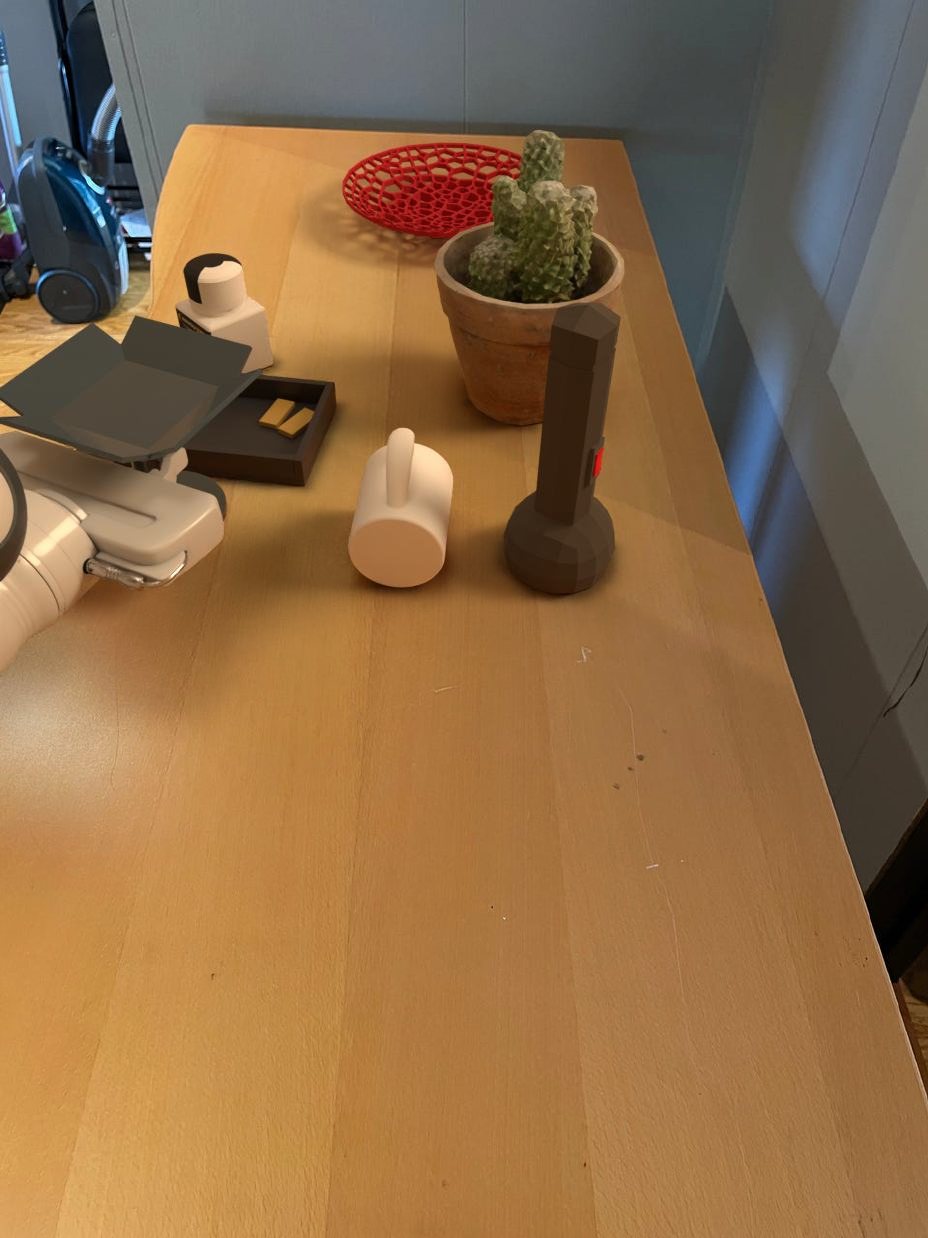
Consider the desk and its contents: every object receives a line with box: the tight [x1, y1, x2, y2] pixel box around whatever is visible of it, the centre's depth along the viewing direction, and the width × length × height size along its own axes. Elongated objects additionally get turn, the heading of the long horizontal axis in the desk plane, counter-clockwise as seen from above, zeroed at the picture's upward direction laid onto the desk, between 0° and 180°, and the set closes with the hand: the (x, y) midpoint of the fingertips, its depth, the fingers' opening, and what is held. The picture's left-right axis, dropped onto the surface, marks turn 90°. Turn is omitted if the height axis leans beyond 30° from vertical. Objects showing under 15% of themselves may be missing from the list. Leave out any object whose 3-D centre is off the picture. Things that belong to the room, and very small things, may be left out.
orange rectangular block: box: [259, 398, 295, 429], centre depth 98 cm, size 4×2×1 cm, turn 161°
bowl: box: [341, 141, 522, 239], centre depth 129 cm, size 29×30×5 cm
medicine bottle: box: [174, 252, 274, 373], centre depth 101 cm, size 7×7×12 cm
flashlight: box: [503, 303, 622, 595], centre depth 76 cm, size 10×25×10 cm
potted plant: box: [433, 129, 626, 427], centre depth 93 cm, size 18×19×25 cm
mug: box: [347, 427, 454, 588], centre depth 81 cm, size 8×10×12 cm
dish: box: [0, 314, 263, 523], centre depth 74 cm, size 16×16×13 cm
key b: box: [278, 408, 314, 439], centre depth 97 cm, size 4×2×1 cm, turn 147°
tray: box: [113, 373, 338, 487], centre depth 96 cm, size 22×14×3 cm, turn 82°
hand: (155, 444), depth 75 cm, fingers closed on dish, 3 cm apart
